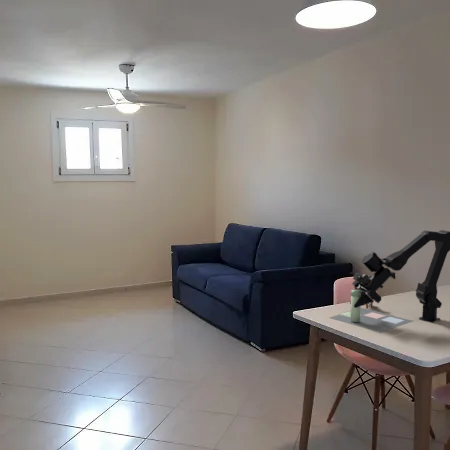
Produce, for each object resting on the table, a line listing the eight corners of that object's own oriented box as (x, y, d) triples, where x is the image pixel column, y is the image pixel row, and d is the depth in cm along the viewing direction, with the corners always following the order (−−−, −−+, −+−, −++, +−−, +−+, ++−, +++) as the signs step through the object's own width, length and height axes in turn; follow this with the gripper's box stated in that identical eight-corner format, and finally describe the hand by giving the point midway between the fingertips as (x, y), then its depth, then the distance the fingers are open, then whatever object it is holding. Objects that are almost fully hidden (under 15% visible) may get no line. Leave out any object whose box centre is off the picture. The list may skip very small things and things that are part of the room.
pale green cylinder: (354, 318, 204) (354, 289, 203) (362, 320, 201) (363, 290, 199) (348, 320, 201) (348, 290, 200) (356, 322, 198) (357, 292, 197)
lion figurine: (379, 310, 219) (380, 291, 219) (369, 310, 219) (369, 291, 218) (365, 302, 234) (366, 284, 233) (355, 302, 233) (356, 284, 232)
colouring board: (361, 308, 222) (361, 307, 222) (413, 321, 202) (413, 320, 202) (328, 318, 207) (328, 317, 207) (381, 333, 187) (381, 332, 187)
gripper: (356, 262, 208) (332, 287, 208) (374, 270, 190) (347, 298, 190) (373, 279, 210) (349, 304, 210) (392, 289, 191) (366, 316, 191)
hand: (352, 305), depth 200 cm, fingers closed on pale green cylinder, 4 cm apart
